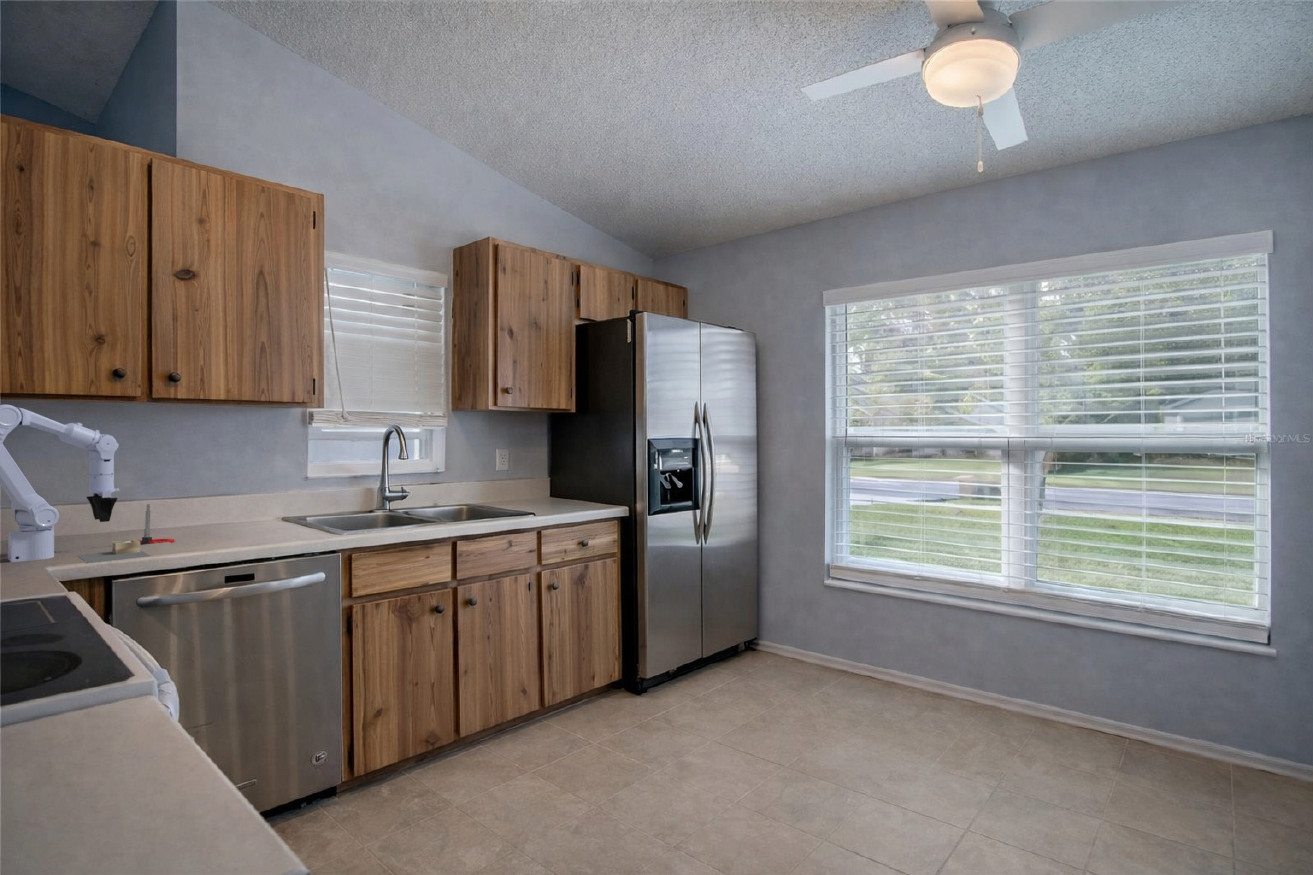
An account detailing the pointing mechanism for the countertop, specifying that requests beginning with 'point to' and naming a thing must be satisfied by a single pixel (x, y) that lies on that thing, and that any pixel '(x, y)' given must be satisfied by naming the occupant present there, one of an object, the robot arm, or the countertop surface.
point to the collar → (125, 547)
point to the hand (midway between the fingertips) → (102, 520)
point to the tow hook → (147, 538)
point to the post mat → (110, 556)
